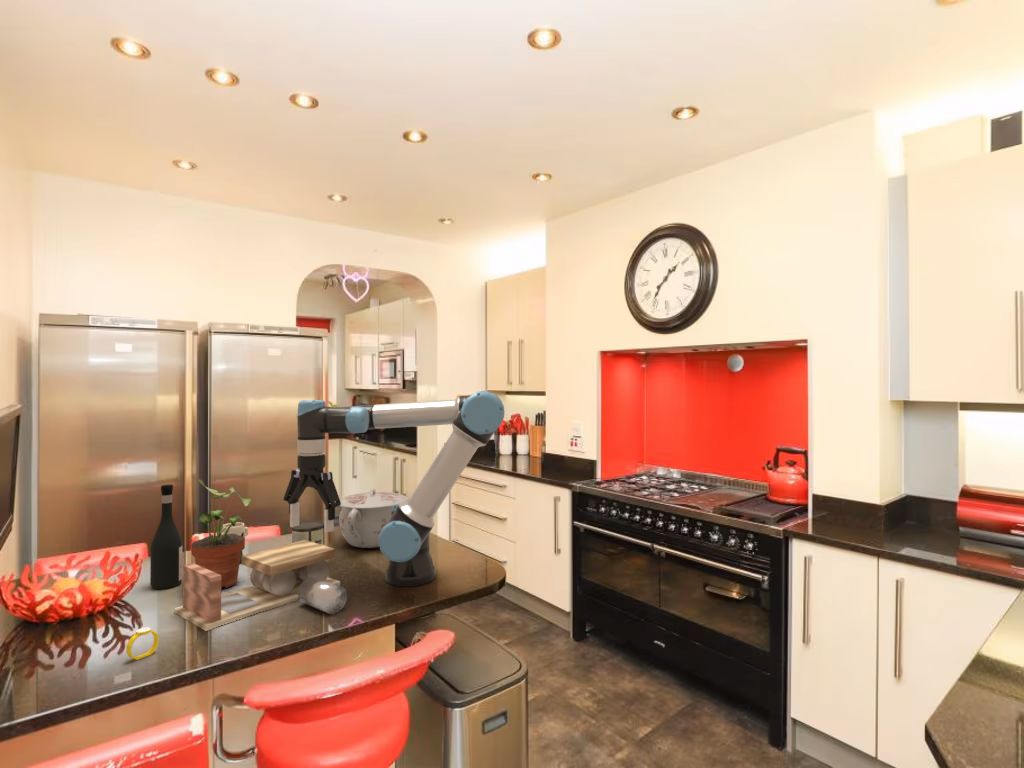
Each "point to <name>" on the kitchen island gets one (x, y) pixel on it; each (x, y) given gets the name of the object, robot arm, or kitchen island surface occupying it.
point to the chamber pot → (366, 516)
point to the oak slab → (287, 557)
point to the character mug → (236, 531)
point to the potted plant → (220, 544)
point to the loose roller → (322, 595)
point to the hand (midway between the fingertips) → (311, 528)
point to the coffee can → (309, 532)
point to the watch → (138, 632)
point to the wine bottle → (166, 547)
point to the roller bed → (240, 593)
